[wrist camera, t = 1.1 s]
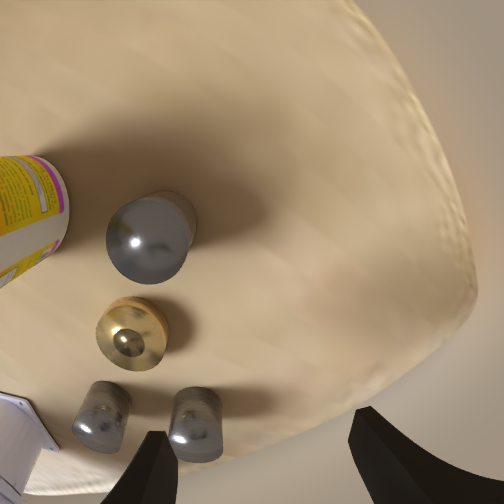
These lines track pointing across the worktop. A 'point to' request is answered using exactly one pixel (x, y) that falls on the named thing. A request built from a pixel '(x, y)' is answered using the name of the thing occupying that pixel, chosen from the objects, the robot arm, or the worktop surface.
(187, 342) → the worktop surface
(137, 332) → the nut
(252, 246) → the worktop surface
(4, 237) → the supplement bottle
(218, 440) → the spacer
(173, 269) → the grey metal cylinder
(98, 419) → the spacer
